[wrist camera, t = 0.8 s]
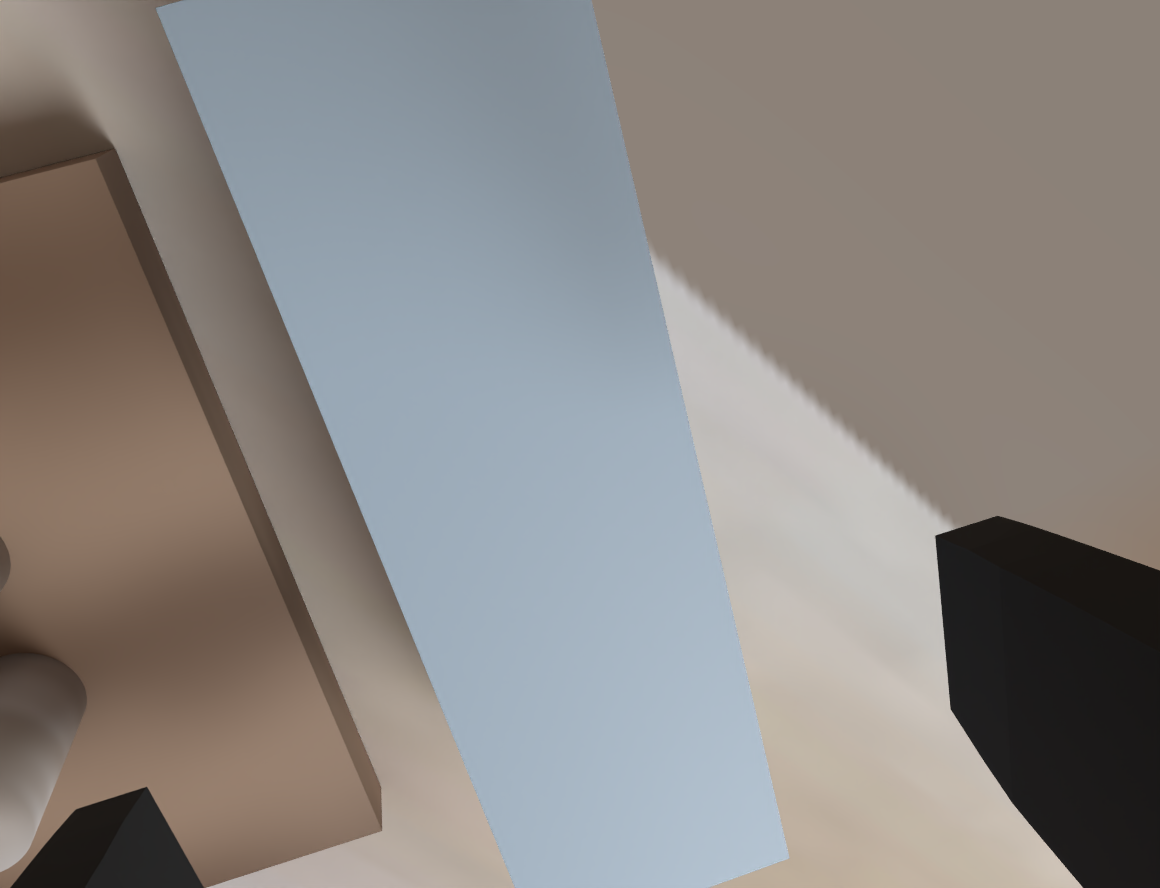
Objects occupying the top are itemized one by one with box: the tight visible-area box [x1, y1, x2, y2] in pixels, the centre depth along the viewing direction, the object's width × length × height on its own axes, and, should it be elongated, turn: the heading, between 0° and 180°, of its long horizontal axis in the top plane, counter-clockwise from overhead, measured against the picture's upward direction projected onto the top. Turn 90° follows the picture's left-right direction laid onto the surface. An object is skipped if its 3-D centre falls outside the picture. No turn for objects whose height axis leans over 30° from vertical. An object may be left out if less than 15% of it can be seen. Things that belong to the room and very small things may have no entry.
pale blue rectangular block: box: [156, 0, 789, 888], centre depth 15 cm, size 14×4×6 cm, turn 14°
